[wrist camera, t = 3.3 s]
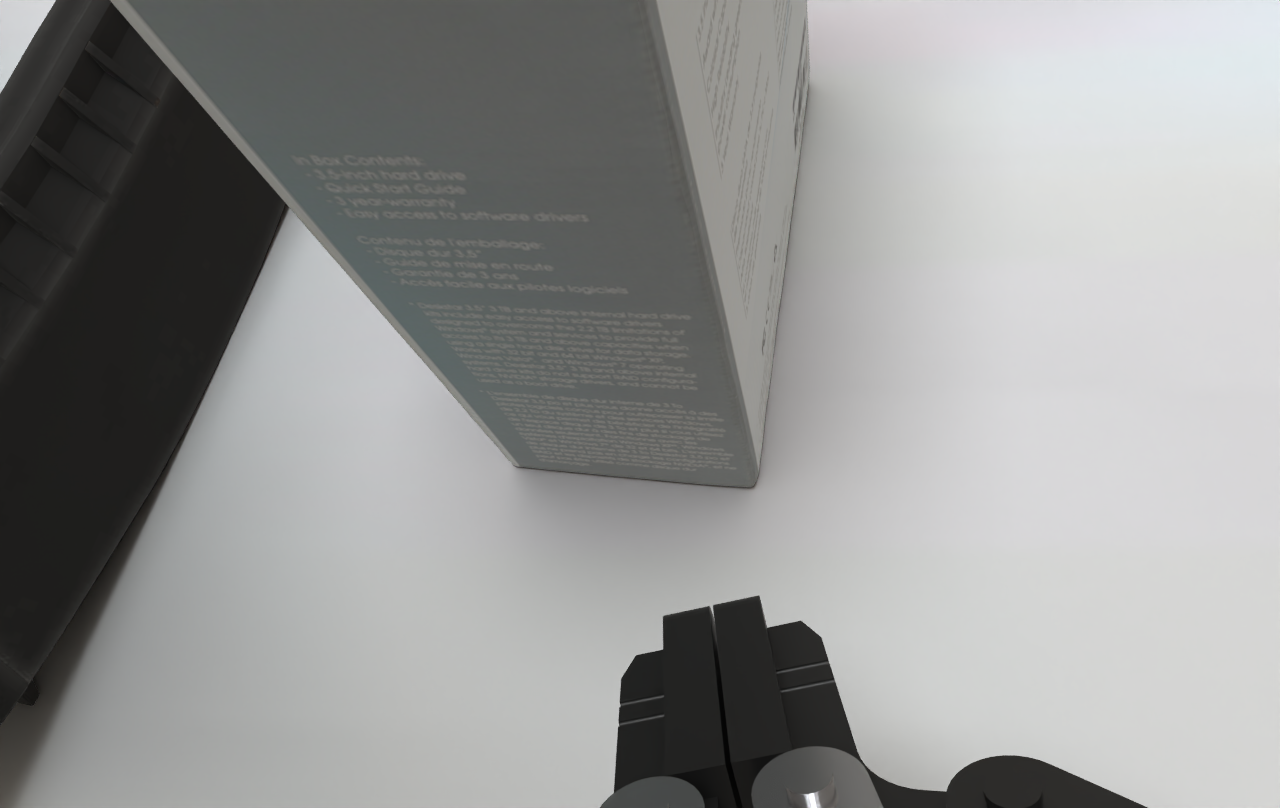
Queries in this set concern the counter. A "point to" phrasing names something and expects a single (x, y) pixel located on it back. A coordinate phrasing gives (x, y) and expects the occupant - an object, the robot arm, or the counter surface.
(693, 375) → the hard drive box
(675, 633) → the robot arm
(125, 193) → the magazine
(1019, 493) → the counter surface
